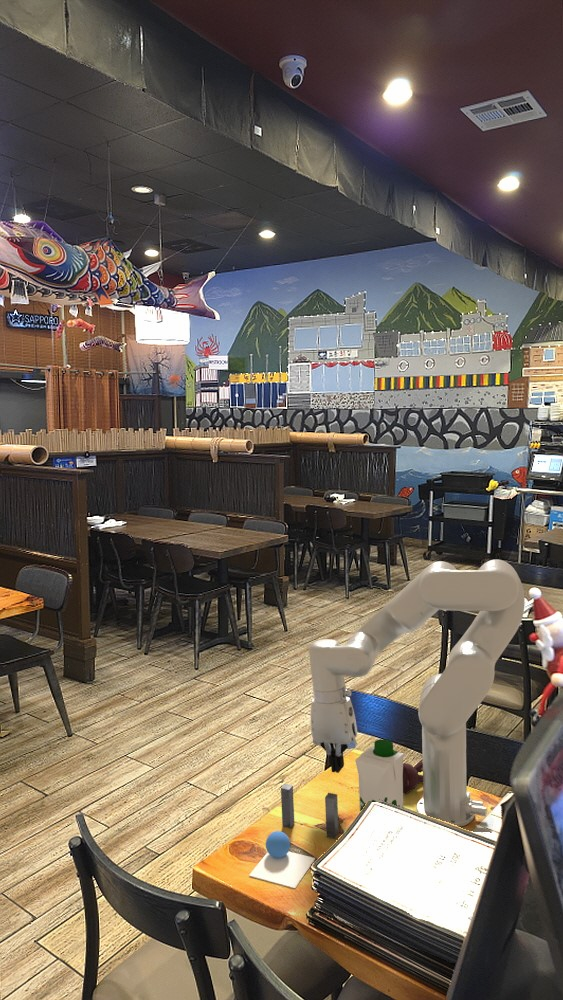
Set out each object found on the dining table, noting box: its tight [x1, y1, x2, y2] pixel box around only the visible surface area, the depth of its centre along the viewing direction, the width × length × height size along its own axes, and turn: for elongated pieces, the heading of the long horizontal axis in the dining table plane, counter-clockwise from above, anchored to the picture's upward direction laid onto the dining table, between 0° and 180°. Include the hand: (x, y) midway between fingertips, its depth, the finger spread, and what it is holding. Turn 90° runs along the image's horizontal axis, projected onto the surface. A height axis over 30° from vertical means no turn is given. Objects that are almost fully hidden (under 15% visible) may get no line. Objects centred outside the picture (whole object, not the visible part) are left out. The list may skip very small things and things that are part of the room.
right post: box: [324, 792, 340, 840], centre depth 150 cm, size 2×2×9 cm
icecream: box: [403, 761, 423, 795], centre depth 167 cm, size 7×7×15 cm
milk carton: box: [355, 738, 405, 812], centre depth 148 cm, size 9×9×20 cm
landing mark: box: [248, 850, 316, 890], centre depth 140 cm, size 10×10×1 cm
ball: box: [265, 830, 291, 858], centre depth 143 cm, size 5×5×5 cm
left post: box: [280, 783, 295, 829], centre depth 154 cm, size 2×2×9 cm
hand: (337, 769), depth 163 cm, fingers closed
